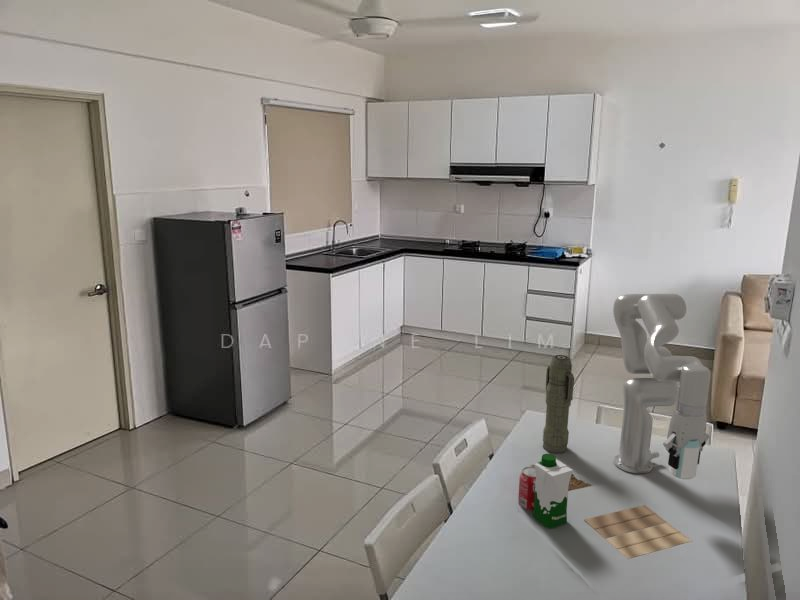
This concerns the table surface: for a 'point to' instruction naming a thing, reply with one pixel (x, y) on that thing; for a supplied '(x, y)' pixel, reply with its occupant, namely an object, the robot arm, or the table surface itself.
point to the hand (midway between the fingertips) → (683, 464)
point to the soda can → (527, 488)
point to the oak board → (648, 540)
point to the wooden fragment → (575, 483)
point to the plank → (624, 521)
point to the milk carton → (551, 491)
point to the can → (687, 461)
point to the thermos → (558, 404)
